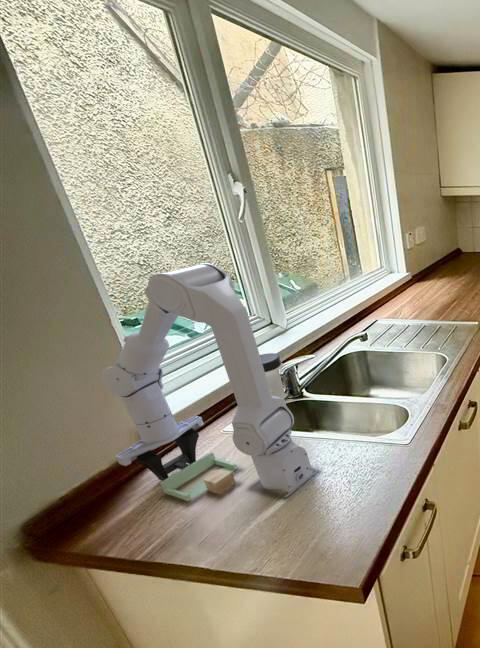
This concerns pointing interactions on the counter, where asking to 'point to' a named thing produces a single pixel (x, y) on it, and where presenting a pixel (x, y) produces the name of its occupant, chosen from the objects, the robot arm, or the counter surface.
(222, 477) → the block
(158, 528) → the counter surface
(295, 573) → the counter surface
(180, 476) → the tray
